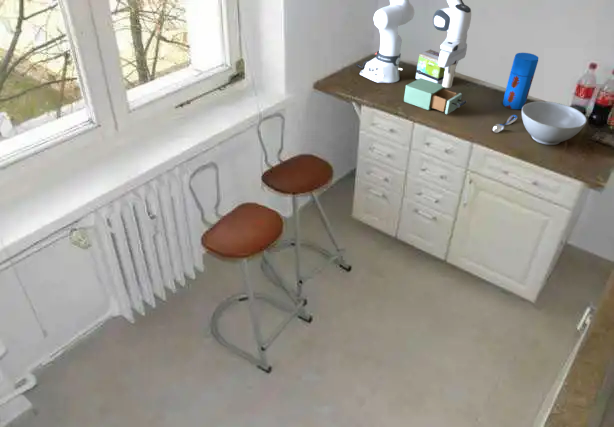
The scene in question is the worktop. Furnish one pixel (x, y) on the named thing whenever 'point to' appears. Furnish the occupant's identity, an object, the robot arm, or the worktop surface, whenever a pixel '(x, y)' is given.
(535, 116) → the decorative bowl
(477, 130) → the worktop surface
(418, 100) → the cabinet
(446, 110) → the drawer
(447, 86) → the canister with knobbed lid
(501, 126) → the silver spoon
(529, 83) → the thermos
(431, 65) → the tea box
